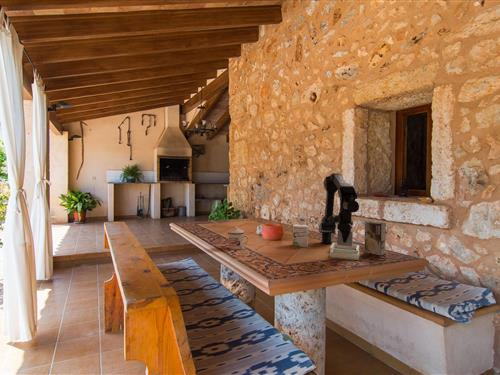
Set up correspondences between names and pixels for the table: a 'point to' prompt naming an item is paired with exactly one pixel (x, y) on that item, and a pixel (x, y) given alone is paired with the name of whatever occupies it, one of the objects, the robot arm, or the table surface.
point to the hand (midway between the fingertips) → (345, 241)
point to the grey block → (349, 239)
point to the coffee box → (375, 237)
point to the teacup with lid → (236, 239)
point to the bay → (344, 246)
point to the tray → (345, 254)
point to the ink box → (300, 235)
